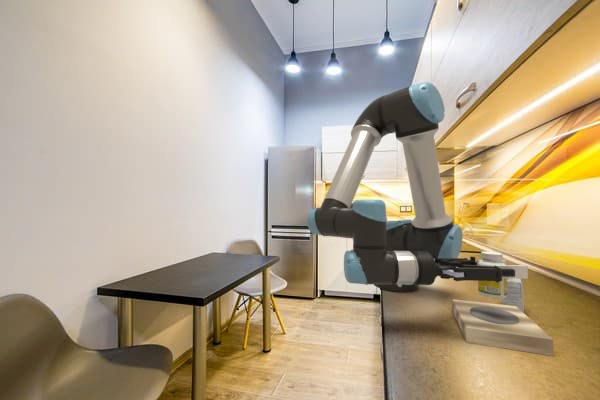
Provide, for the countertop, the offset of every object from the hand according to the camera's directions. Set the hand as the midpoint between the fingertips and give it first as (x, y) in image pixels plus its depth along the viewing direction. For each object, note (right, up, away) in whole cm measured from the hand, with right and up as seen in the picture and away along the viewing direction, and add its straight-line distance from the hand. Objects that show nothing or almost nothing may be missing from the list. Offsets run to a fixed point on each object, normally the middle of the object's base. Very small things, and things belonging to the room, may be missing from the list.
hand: (515, 268), depth 61 cm
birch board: (-5, -14, 0) cm, 15 cm away
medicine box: (+8, -14, +11) cm, 20 cm away
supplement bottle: (-5, -6, 0) cm, 8 cm away
